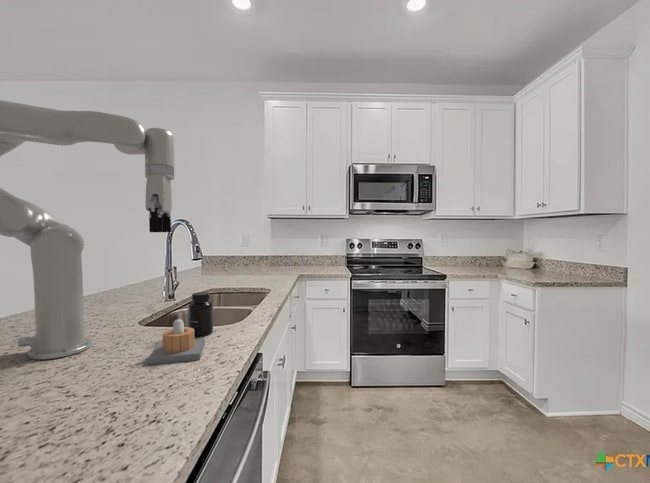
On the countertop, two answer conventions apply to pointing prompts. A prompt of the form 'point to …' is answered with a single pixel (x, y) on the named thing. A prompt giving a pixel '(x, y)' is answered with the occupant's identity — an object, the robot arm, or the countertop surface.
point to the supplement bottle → (200, 314)
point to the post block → (165, 357)
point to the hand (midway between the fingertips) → (160, 232)
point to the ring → (178, 340)
